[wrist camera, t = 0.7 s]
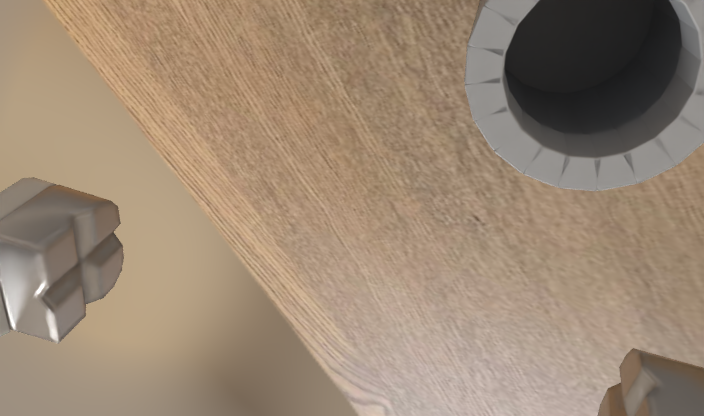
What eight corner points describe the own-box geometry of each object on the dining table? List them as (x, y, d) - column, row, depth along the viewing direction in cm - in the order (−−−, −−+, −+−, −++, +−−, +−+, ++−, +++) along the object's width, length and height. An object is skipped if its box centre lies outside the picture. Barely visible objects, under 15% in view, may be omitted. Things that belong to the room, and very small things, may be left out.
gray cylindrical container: (487, -81, 30) (476, -73, 19) (680, -81, 28) (784, -73, 17) (472, 93, 33) (456, 180, 23) (641, 103, 32) (707, 201, 21)
